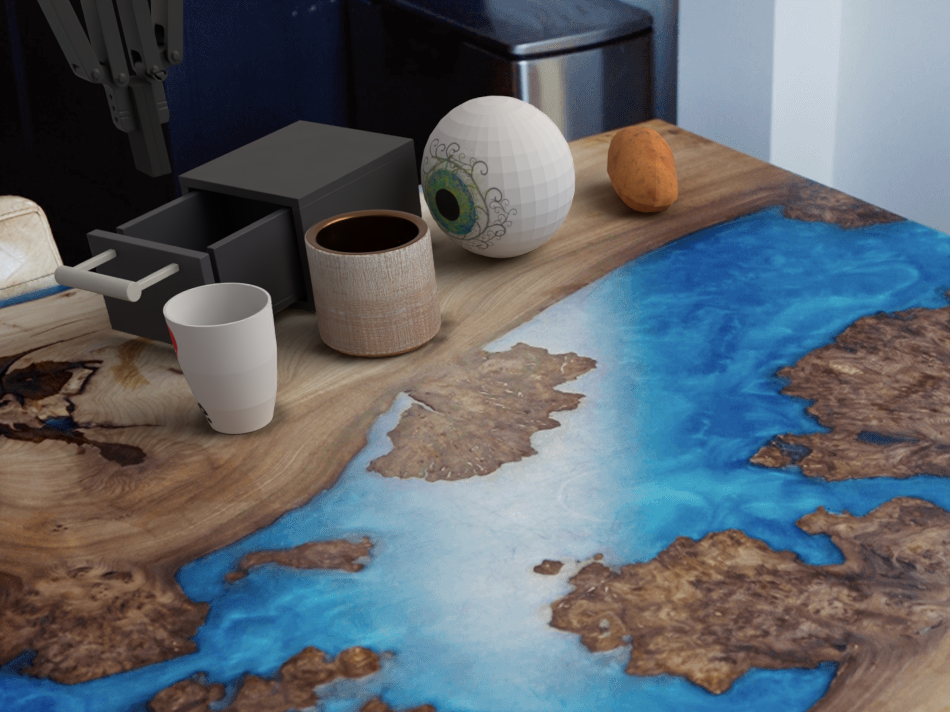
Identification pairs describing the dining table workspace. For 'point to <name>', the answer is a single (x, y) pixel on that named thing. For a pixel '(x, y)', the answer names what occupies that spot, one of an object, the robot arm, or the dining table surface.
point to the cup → (227, 353)
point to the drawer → (189, 258)
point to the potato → (642, 169)
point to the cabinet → (316, 177)
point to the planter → (373, 282)
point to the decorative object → (498, 176)
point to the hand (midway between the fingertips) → (153, 170)
